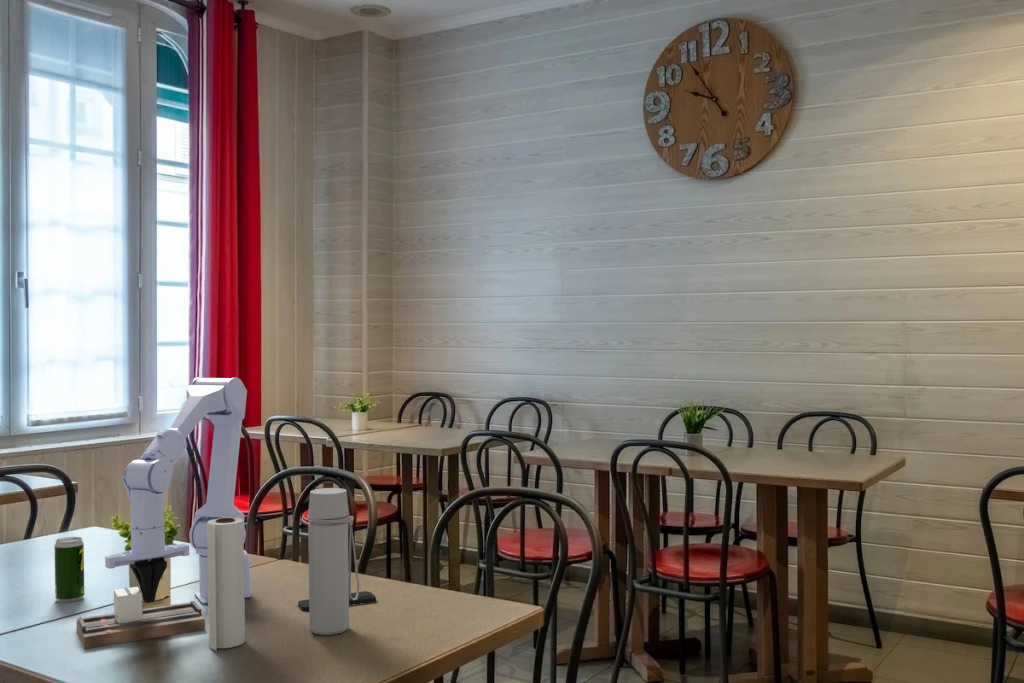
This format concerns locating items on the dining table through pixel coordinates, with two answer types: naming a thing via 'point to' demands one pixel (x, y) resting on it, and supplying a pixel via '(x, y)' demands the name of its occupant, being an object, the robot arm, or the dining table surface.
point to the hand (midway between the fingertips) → (148, 601)
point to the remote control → (362, 598)
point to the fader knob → (127, 605)
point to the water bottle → (329, 561)
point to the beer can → (69, 569)
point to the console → (140, 625)
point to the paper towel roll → (226, 582)
